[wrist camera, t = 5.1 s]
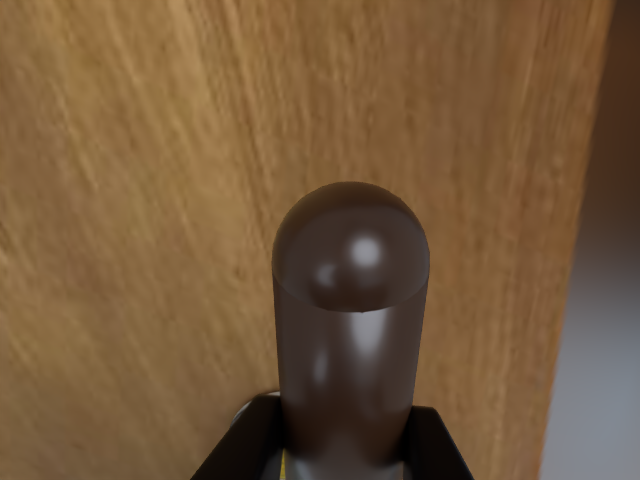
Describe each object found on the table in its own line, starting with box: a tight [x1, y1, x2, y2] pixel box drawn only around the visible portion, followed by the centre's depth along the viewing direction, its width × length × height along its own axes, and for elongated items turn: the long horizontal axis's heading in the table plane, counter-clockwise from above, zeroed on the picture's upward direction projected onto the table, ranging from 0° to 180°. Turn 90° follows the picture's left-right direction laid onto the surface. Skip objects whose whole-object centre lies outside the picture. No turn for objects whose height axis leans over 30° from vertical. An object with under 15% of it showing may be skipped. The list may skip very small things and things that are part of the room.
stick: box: [272, 182, 430, 480], centre depth 9 cm, size 2×8×2 cm, turn 0°
